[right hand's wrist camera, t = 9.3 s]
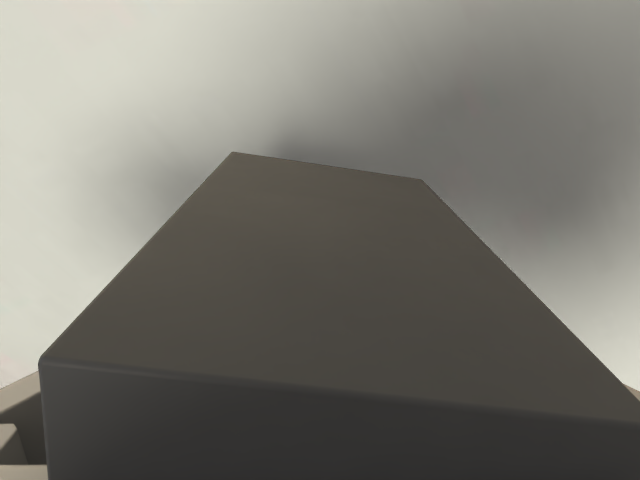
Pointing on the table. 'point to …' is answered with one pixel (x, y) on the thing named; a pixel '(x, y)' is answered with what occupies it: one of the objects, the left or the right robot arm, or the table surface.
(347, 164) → the table surface
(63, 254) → the table surface
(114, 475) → the box
